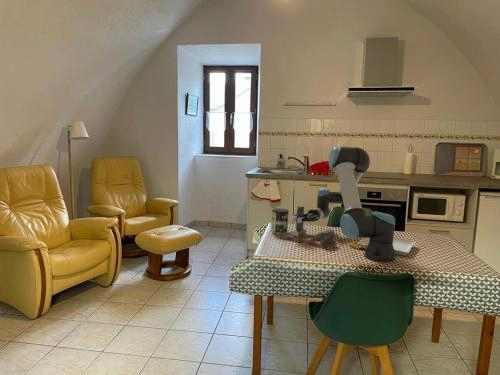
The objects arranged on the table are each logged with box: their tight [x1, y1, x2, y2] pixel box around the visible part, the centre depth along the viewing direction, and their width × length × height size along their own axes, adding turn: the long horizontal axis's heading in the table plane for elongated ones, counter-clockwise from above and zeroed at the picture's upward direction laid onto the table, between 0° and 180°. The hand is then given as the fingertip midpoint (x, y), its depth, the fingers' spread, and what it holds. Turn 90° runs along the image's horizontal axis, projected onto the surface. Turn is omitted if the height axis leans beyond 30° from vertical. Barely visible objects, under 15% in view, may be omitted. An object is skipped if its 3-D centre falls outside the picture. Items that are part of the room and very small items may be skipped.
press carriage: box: [291, 205, 307, 237], centre depth 231 cm, size 4×9×17 cm, turn 142°
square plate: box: [356, 236, 417, 256], centre depth 222 cm, size 27×27×4 cm
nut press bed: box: [280, 228, 337, 249], centre depth 228 cm, size 28×14×8 cm, turn 52°
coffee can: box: [271, 208, 289, 235], centre depth 245 cm, size 10×10×14 cm
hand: (295, 220), depth 227 cm, fingers closed on press carriage, 3 cm apart
